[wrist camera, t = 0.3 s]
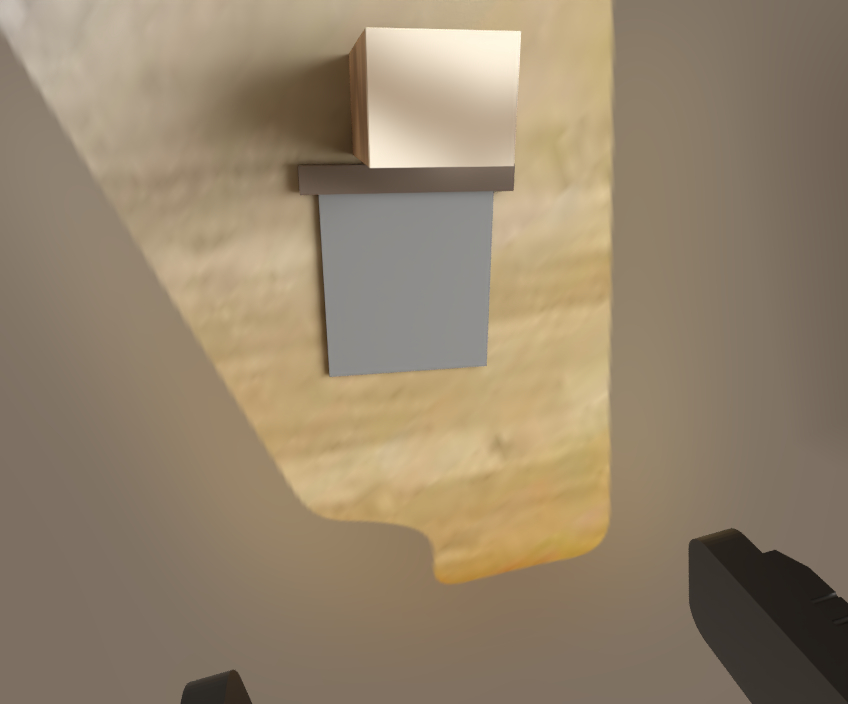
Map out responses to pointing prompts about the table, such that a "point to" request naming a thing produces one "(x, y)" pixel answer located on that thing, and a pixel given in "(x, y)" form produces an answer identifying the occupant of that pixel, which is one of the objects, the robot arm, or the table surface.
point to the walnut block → (434, 97)
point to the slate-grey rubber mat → (406, 280)
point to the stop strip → (401, 179)
